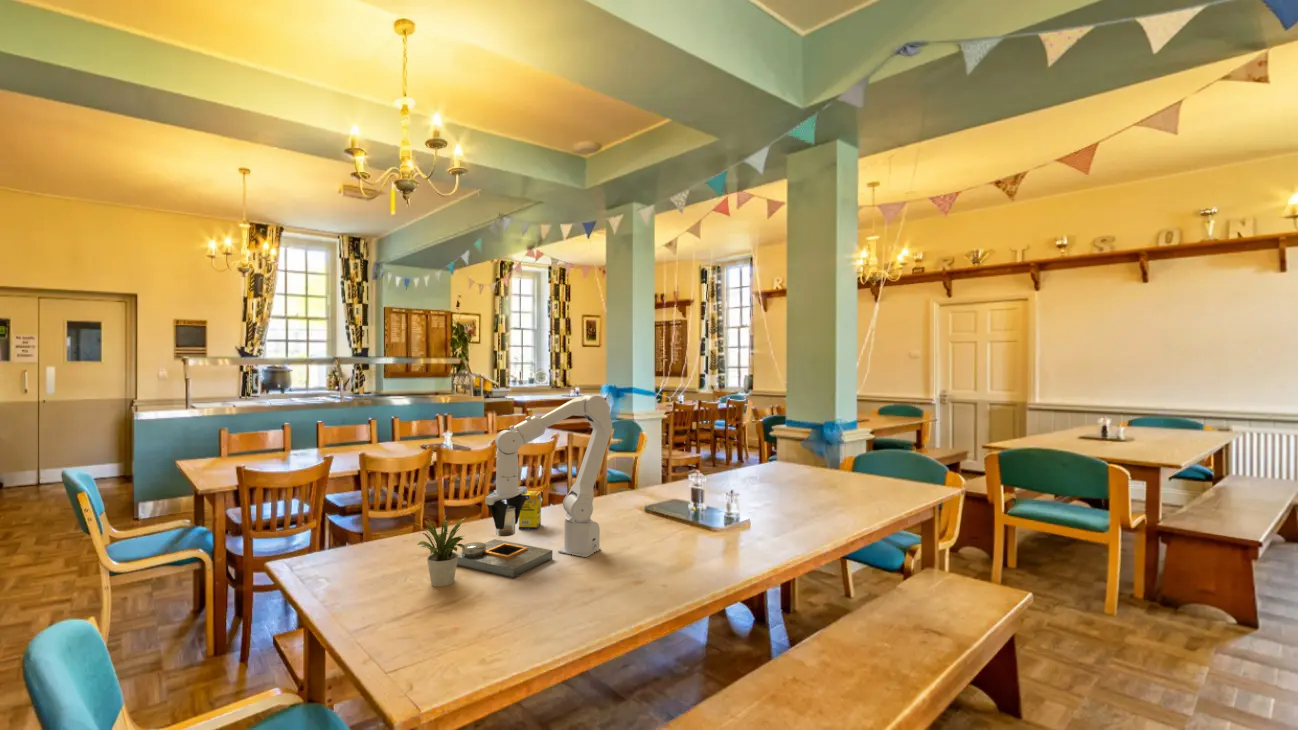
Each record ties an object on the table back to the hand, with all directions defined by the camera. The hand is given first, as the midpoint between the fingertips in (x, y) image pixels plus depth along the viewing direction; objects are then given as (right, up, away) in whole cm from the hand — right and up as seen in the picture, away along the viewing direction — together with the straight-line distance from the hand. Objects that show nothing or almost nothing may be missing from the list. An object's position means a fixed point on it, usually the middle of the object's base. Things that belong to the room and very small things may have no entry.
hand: (506, 525), depth 158 cm
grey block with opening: (0, -9, -2) cm, 9 cm away
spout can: (0, -2, 0) cm, 2 cm away
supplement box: (0, -9, +30) cm, 31 cm away
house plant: (-12, -9, -17) cm, 23 cm away
